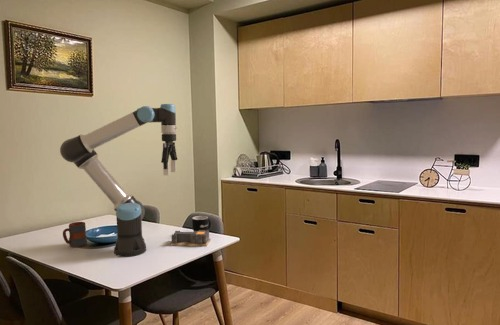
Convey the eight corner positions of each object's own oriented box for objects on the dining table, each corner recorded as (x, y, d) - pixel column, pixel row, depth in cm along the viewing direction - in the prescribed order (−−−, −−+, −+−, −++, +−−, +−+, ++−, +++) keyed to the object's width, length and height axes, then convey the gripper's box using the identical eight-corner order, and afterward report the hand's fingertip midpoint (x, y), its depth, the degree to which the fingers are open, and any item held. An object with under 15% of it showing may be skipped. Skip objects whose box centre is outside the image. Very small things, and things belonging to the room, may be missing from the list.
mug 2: (199, 238, 208) (198, 220, 207) (189, 235, 214) (188, 217, 213) (215, 233, 217) (215, 216, 216) (205, 231, 223) (205, 214, 222)
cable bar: (173, 242, 198) (173, 233, 197) (176, 239, 202) (175, 231, 202) (203, 242, 197) (203, 234, 196) (205, 240, 201) (205, 231, 201)
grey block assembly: (170, 245, 195) (170, 234, 195) (175, 240, 205) (175, 229, 205) (206, 246, 194) (206, 235, 193) (210, 240, 204) (210, 229, 203)
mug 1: (59, 247, 195) (58, 225, 194) (81, 241, 204) (80, 220, 203) (68, 250, 190) (66, 227, 189) (90, 244, 199) (89, 222, 198)
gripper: (169, 134, 185) (170, 176, 187) (181, 133, 210) (182, 170, 212) (154, 134, 186) (155, 176, 188) (168, 133, 211) (169, 171, 213)
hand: (170, 173), depth 200 cm, fingers open, 13 cm apart
